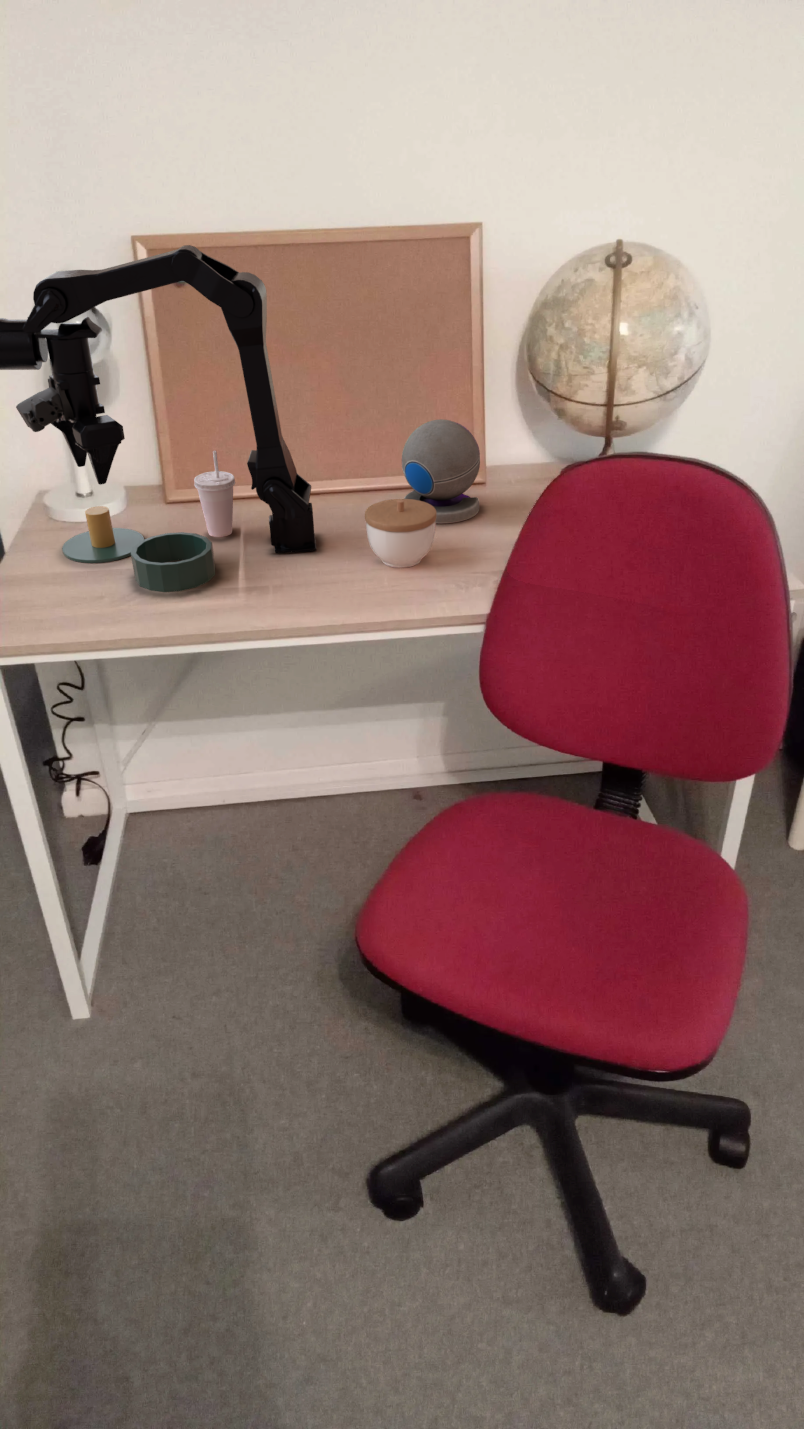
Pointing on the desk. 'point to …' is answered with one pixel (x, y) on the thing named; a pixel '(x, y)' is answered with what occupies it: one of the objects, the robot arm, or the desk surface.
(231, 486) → the smoothie
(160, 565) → the tin
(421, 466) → the webcam
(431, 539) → the trinket box
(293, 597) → the desk surface
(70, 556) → the lid
